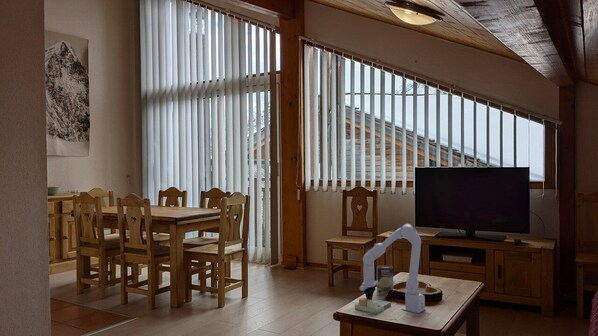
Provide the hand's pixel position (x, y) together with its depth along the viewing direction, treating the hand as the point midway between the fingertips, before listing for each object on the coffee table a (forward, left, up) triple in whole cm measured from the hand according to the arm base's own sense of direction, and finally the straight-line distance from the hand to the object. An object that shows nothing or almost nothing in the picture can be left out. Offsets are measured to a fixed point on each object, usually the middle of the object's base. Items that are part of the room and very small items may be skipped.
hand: (369, 301), depth 266 cm
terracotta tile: (0, +3, 0) cm, 3 cm away
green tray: (-3, +4, -3) cm, 6 cm away
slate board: (-3, -4, -3) cm, 6 cm away
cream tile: (-5, +3, 0) cm, 6 cm away
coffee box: (+5, -24, -3) cm, 25 cm away
